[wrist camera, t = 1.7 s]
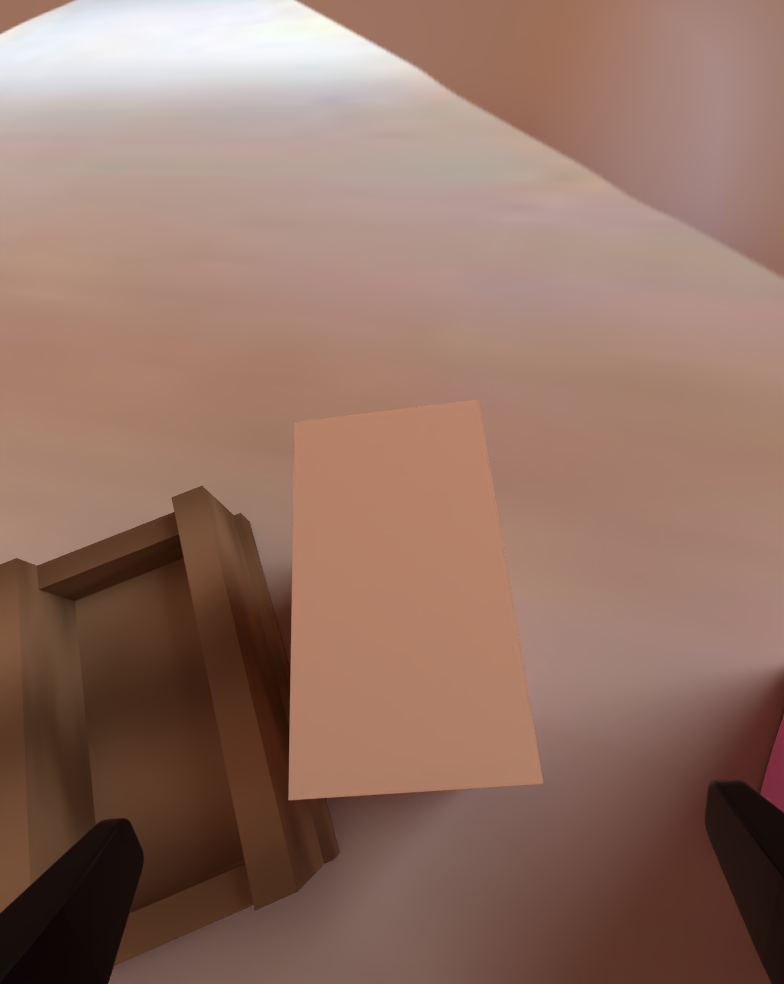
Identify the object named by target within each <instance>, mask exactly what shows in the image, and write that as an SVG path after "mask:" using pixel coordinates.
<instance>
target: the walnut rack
mask: <svg viewBox="0 0 784 984" xmlns="http://www.w3.org/2000/svg"><path fill="white" fill-rule="evenodd" d="M172 502H173V507H174V512H173V513H171V514H168V515H166V516H163V517H160V518H158V519H155V520H153V521H150V522H148V523H145V524H143V525H140V526H137V527H135V528H132V529H130V530H127V531H125V532H122V533H120V534H117V535H115V536H112V537H109V538H107V539H104V540H102V541H99V542H97V543H94V544H92V545H89V546H87V547H84V548H81V549H79V550H76V551H74V552H71V553H69V554H66V555H64V556H61V557H58V558H56V559H53V560H51V561H48V562H46V563H43V564H41V565H38V566H36V565H33V564H31V563H28V562H26V561H23V560H20V559H18V558H16V559H13V560H11V561H8V562H6V563H3V564H1V565H0V913H1V912H2V911H3V910H4V909H5V908H6V907H7V906H8V905H9V904H10V903H12V902H13V901H14V900H15V899H16V898H17V897H18V896H19V895H20V894H21V893H22V892H23V891H24V890H26V889H27V888H28V887H29V886H30V885H31V884H32V883H33V882H34V881H35V880H36V879H37V878H38V877H40V876H41V875H42V874H43V873H44V872H45V871H46V870H47V869H48V868H49V867H50V866H51V865H53V864H54V863H55V862H56V861H57V860H58V859H59V858H60V857H61V856H62V855H63V854H64V853H65V852H67V851H68V850H69V849H70V848H71V847H72V846H73V845H74V844H75V843H76V842H77V841H78V840H79V839H81V838H82V837H83V836H84V835H85V834H86V833H87V832H88V831H89V830H90V829H91V828H92V827H94V826H95V825H96V824H97V823H99V822H100V821H102V820H106V819H117V818H126V819H128V820H129V821H130V822H131V824H132V826H133V829H134V831H135V833H136V835H137V838H138V840H139V842H140V844H141V847H142V849H143V853H144V864H143V869H142V873H141V876H140V880H139V883H138V886H137V890H136V893H135V896H134V900H133V903H132V907H131V910H130V913H129V917H128V920H127V923H126V927H125V930H124V933H123V937H122V940H121V943H120V947H119V950H118V954H117V957H116V960H115V964H114V965H116V964H119V963H121V962H123V961H125V960H128V959H130V958H132V957H135V956H137V955H139V954H142V953H144V952H146V951H148V950H151V949H153V948H155V947H158V946H160V945H162V944H164V943H167V942H169V941H171V940H174V939H176V938H178V937H181V936H183V935H185V934H187V933H190V932H192V931H194V930H197V929H199V928H201V927H204V926H206V925H208V924H210V923H213V922H215V921H217V920H220V919H222V918H224V917H226V916H229V915H231V914H233V913H236V912H238V911H240V910H243V909H245V908H247V907H249V906H252V905H254V909H255V910H257V909H259V908H261V907H264V906H266V905H268V904H270V903H273V902H275V901H277V900H280V899H282V898H284V897H286V896H289V895H291V894H293V893H296V892H298V891H299V890H300V888H301V887H302V886H303V885H304V884H305V883H306V882H307V881H308V880H309V879H310V878H311V877H312V876H313V875H314V874H315V873H316V872H317V871H318V870H319V869H320V868H321V867H322V866H323V865H324V864H325V863H327V862H329V861H332V860H333V859H334V858H335V857H336V856H337V855H338V854H339V853H340V851H339V848H338V844H337V840H336V837H335V833H334V829H333V826H332V822H331V818H330V815H329V811H328V807H327V804H326V800H325V798H317V799H301V800H288V798H289V736H290V675H291V672H290V668H289V665H288V661H287V657H286V654H285V650H284V646H283V643H282V639H281V635H280V632H279V628H278V624H277V621H276V617H275V613H274V610H273V606H272V602H271V599H270V595H269V591H268V588H267V584H266V580H265V577H264V573H263V569H262V566H261V562H260V559H259V555H258V551H257V548H256V544H255V540H254V537H253V533H252V529H251V526H250V522H249V521H248V520H247V519H246V518H245V517H244V516H243V515H242V514H241V513H239V514H237V515H233V514H232V513H231V512H230V511H229V510H228V509H226V508H225V507H224V506H223V505H222V504H221V503H220V502H219V501H218V500H217V499H216V498H215V497H214V496H213V495H211V494H210V493H209V492H208V491H207V490H206V489H205V488H204V487H203V486H200V487H198V488H195V489H192V490H190V491H187V492H185V493H182V494H180V495H177V496H175V497H172Z"/></svg>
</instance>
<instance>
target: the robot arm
mask: <svg viewBox="0 0 784 984" xmlns="http://www.w3.org/2000/svg"><path fill="white" fill-rule="evenodd" d="M705 826H706V831H707V834H708V837H709V839H710V842H711V844H712V847H713V849H714V851H715V854H716V856H717V858H718V861H719V863H720V866H721V868H722V870H723V873H724V875H725V878H726V880H727V882H728V885H729V887H730V890H731V892H732V894H733V897H734V899H735V901H736V904H737V906H738V909H739V911H740V913H741V916H742V918H743V921H744V923H745V925H746V928H747V930H748V932H749V935H750V937H751V940H752V942H753V944H754V947H755V949H756V951H757V953H758V956H759V958H760V960H761V962H762V965H763V967H764V969H765V971H766V973H767V975H768V977H769V979H770V981H771V983H772V984H784V812H783V811H782V810H780V809H779V808H778V807H776V806H775V805H774V804H772V803H771V802H770V801H769V800H767V799H766V798H765V797H763V796H762V795H761V794H760V793H758V792H757V791H756V790H754V789H753V788H752V787H751V786H749V785H748V784H747V783H745V782H743V781H741V780H738V779H725V780H714V781H712V782H711V783H710V784H709V786H708V793H707V802H706V810H705ZM143 864H144V853H143V849H142V847H141V844H140V842H139V840H138V838H137V835H136V833H135V831H134V829H133V826H132V824H131V822H130V821H129V820H128V819H126V818H117V819H106V820H102V821H100V822H99V823H97V824H96V825H95V826H94V827H92V828H91V829H90V830H89V831H88V832H87V833H86V834H85V835H84V836H83V837H82V838H81V839H79V840H78V841H77V842H76V843H75V844H74V845H73V846H72V847H71V848H70V849H69V850H68V851H67V852H65V853H64V854H63V855H62V856H61V857H60V858H59V859H58V860H57V861H56V862H55V863H54V864H53V865H51V866H50V867H49V868H48V869H47V870H46V871H45V872H44V873H43V874H42V875H41V876H40V877H38V878H37V879H36V880H35V881H34V882H33V883H32V884H31V885H30V886H29V887H28V888H27V889H26V890H24V891H23V892H22V893H21V894H20V895H19V896H18V897H17V898H16V899H15V900H14V901H13V902H12V903H10V904H9V905H8V906H7V907H6V908H5V909H4V910H3V911H2V912H1V913H0V984H108V982H109V979H110V976H111V973H112V970H113V967H114V964H115V960H116V957H117V954H118V950H119V947H120V943H121V940H122V937H123V933H124V930H125V927H126V923H127V920H128V917H129V913H130V910H131V907H132V903H133V900H134V896H135V893H136V890H137V886H138V883H139V880H140V876H141V873H142V869H143Z"/></svg>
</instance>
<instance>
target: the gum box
mask: <svg viewBox="0 0 784 984" xmlns="http://www.w3.org/2000/svg"><path fill="white" fill-rule="evenodd" d="M760 794H761V795H762V796H763V797H765V798H766V799H767V800H769V801H770V802H771V803H772V804H774V805H775V806H776V807H778V808H779V809H780V810H782V811H783V812H784V714H783V718H782V721H781V725H780V728H779V731H778V734H777V736H776V739H775V742H774V745H773V749H772V752H771V756H770V759H769V763H768V766H767V770H766V774H765V777H764V781H763V785H762V788H761V792H760Z"/></svg>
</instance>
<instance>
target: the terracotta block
mask: <svg viewBox="0 0 784 984" xmlns="http://www.w3.org/2000/svg"><path fill="white" fill-rule="evenodd" d="M532 784H544V783H543V777H542V771H541V765H540V759H539V753H538V747H537V741H536V735H535V730H534V724H533V718H532V712H531V706H530V700H529V694H528V688H527V682H526V676H525V671H524V665H523V659H522V653H521V647H520V641H519V635H518V629H517V623H516V617H515V612H514V606H513V600H512V594H511V588H510V582H509V576H508V570H507V564H506V558H505V553H504V547H503V541H502V535H501V529H500V523H499V517H498V511H497V505H496V499H495V494H494V488H493V482H492V476H491V470H490V464H489V458H488V452H487V446H486V440H485V435H484V429H483V423H482V417H481V411H480V405H479V399H478V400H469V401H461V402H453V403H445V404H437V405H429V406H421V407H413V408H405V409H397V410H389V411H381V412H373V413H365V414H356V415H348V416H340V417H332V418H324V419H316V420H308V421H300V422H295V428H294V490H293V551H292V613H291V675H290V736H289V798H288V800H301V799H317V798H332V797H347V796H363V795H378V794H394V793H409V792H424V791H440V790H455V789H471V788H486V787H501V786H517V785H532Z"/></svg>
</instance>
